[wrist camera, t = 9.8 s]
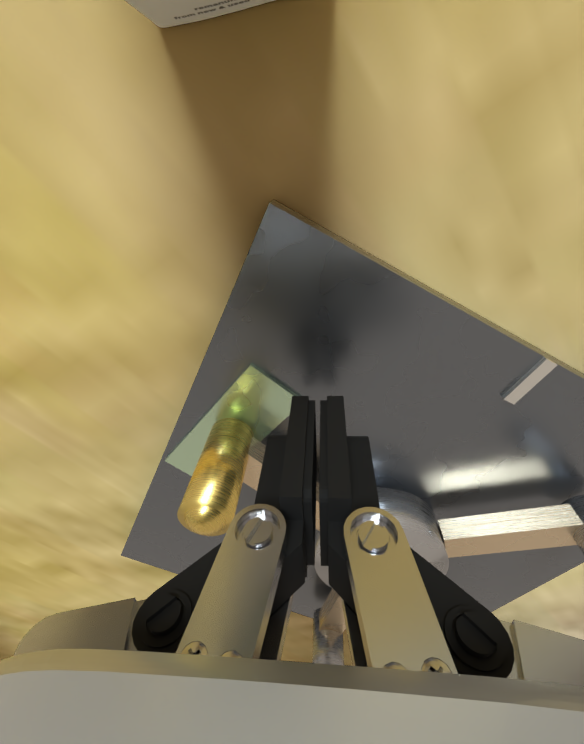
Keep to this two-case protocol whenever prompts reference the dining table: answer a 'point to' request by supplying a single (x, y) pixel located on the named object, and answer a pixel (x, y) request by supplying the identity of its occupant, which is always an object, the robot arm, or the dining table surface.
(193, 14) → the ink box
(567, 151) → the dining table surface
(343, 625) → the capstan
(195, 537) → the stand plate
